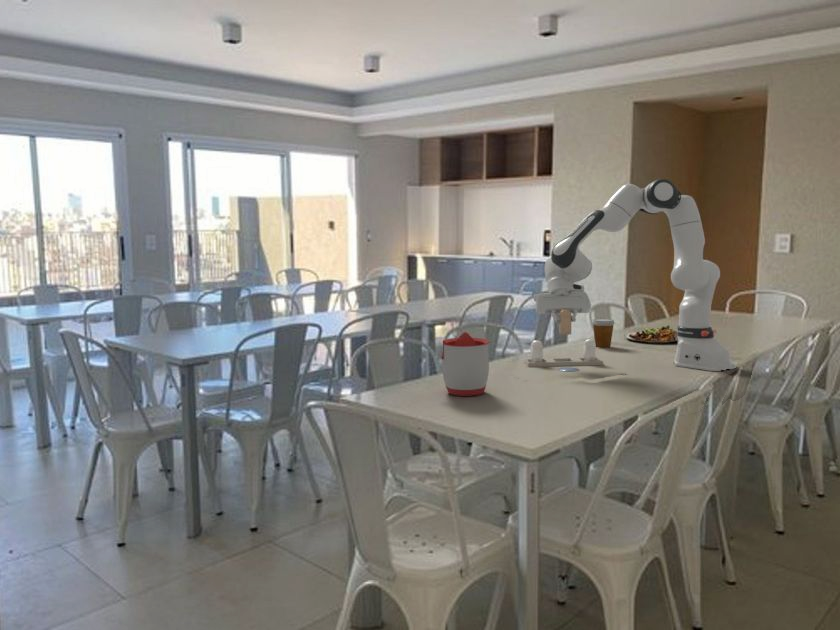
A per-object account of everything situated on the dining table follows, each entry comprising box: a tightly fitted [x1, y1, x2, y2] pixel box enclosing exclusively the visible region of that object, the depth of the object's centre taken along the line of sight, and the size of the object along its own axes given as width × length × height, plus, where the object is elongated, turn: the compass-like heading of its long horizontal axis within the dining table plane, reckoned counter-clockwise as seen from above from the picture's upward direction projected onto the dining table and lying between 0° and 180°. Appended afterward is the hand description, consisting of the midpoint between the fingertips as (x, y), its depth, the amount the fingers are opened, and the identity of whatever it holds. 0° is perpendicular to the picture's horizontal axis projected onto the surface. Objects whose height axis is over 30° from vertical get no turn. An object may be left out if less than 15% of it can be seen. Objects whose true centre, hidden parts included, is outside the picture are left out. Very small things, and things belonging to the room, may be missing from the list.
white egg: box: [530, 340, 544, 362], centre depth 264 cm, size 4×4×9 cm
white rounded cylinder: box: [582, 338, 597, 361], centre depth 265 cm, size 4×4×9 cm
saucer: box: [556, 366, 580, 373], centre depth 254 cm, size 8×8×1 cm
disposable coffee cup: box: [591, 317, 616, 349], centre depth 304 cm, size 10×10×12 cm
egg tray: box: [523, 356, 605, 368], centre depth 265 cm, size 29×8×3 cm, turn 92°
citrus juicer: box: [435, 331, 490, 397], centre depth 227 cm, size 16×17×20 cm
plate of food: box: [624, 325, 678, 344], centre depth 321 cm, size 28×28×6 cm
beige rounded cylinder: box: [558, 309, 572, 336], centre depth 258 cm, size 4×4×9 cm
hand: (565, 320), depth 257 cm, fingers closed on beige rounded cylinder, 4 cm apart
